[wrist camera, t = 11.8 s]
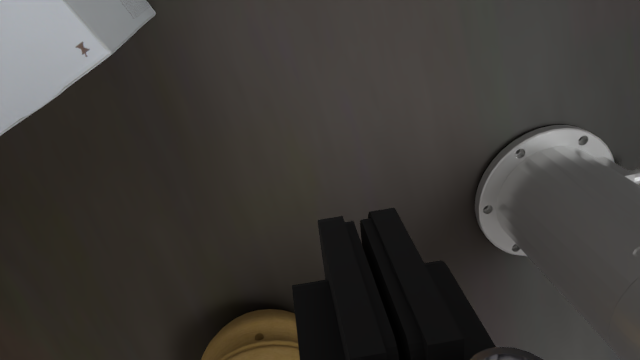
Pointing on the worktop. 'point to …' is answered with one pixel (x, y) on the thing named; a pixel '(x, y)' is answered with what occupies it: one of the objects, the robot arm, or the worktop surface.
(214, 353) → the pot
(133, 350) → the worktop surface
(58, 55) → the small box
